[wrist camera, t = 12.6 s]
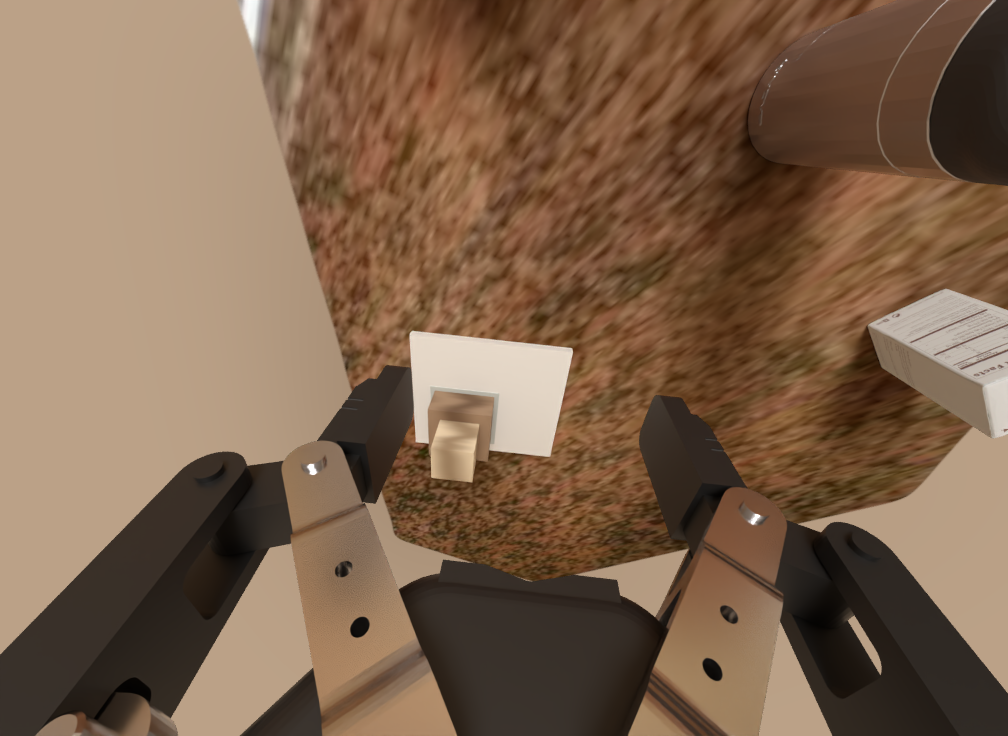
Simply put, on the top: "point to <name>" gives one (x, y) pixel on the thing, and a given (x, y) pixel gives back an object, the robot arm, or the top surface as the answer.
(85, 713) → the robot arm
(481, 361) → the plate
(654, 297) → the top surface
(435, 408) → the walnut base
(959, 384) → the supplement box
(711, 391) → the top surface
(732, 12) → the top surface
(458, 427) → the maple cube
